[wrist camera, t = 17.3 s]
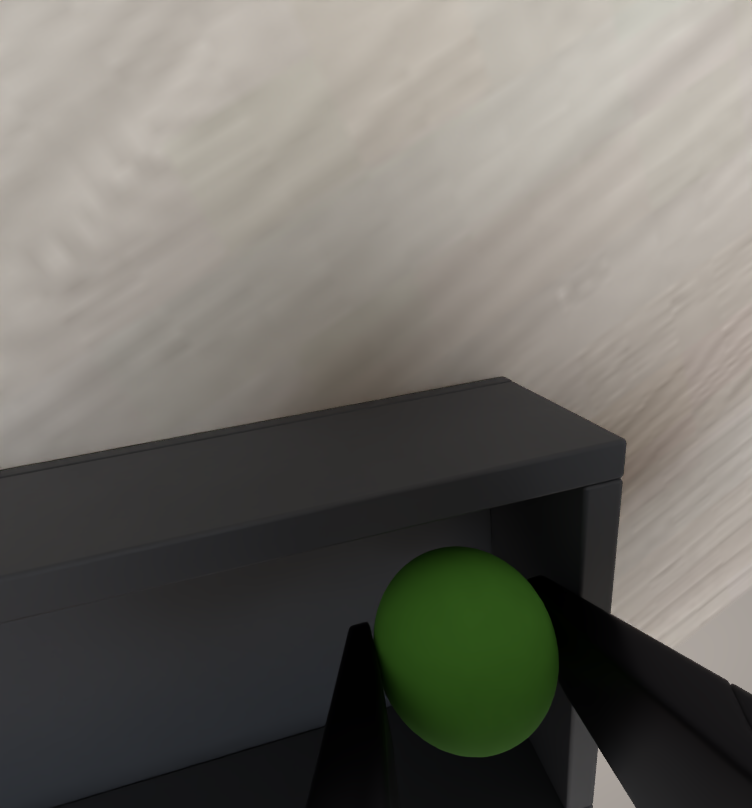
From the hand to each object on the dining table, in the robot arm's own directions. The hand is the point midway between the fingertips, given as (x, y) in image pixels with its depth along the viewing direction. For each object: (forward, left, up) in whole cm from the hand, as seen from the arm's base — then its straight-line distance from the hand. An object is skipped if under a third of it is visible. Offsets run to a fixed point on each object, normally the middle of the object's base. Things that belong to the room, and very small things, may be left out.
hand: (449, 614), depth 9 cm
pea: (0, 0, -1) cm, 1 cm away
